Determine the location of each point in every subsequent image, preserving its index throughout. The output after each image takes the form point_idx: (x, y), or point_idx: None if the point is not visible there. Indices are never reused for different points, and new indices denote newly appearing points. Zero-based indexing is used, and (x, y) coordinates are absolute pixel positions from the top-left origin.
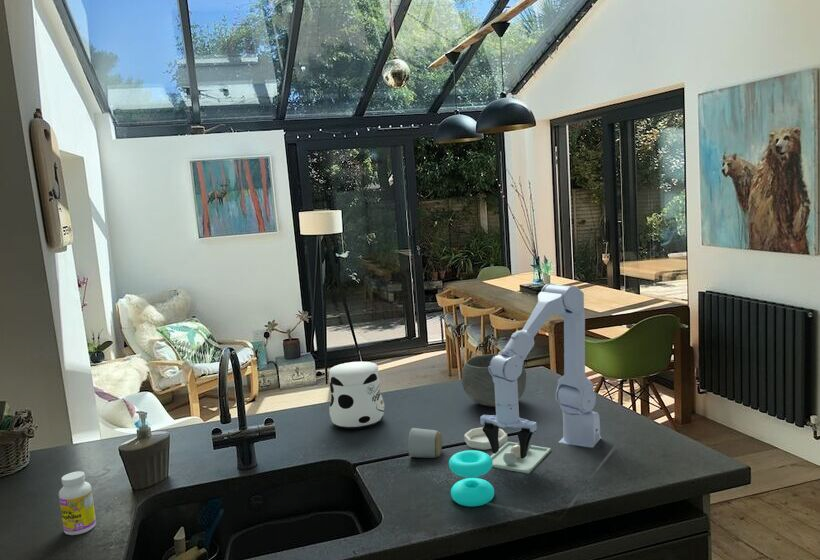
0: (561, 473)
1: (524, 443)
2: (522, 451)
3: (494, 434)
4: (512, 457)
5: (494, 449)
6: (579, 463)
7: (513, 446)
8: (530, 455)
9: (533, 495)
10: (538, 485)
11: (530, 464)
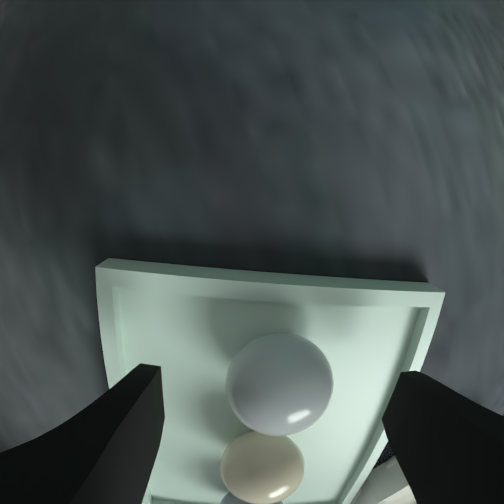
0: (2, 331)
1: (23, 444)
2: (110, 395)
3: (474, 496)
4: (246, 372)
5: (421, 388)
6: (13, 423)
7: (287, 486)
8: (202, 467)
9: (37, 39)
10: (29, 152)
11: None
